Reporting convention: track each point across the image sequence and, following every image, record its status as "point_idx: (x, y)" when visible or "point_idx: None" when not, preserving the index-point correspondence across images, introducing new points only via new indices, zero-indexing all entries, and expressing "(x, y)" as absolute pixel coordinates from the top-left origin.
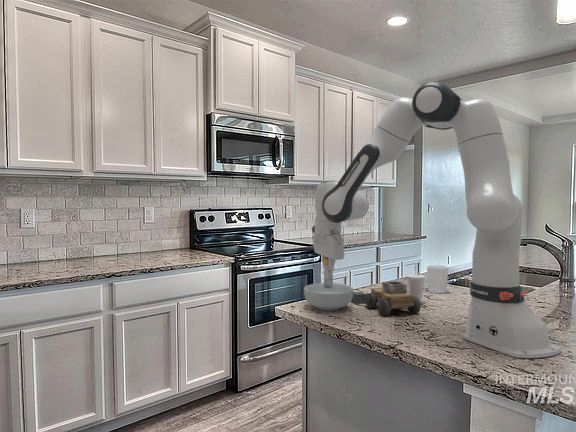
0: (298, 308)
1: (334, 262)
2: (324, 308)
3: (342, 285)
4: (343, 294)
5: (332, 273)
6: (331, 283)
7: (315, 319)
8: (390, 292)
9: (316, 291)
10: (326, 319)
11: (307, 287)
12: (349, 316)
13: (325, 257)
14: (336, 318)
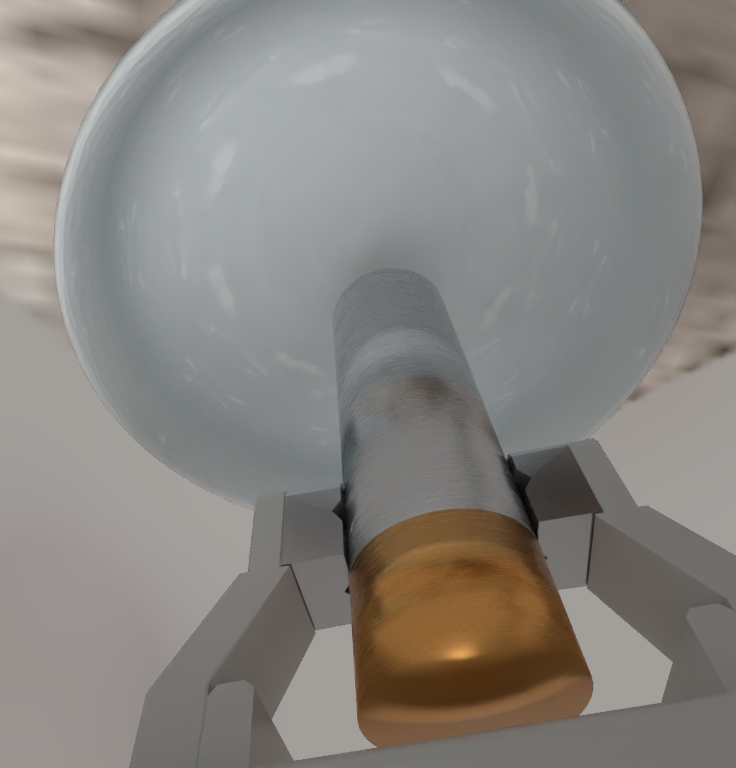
0: None
1: (734, 564)
2: (504, 295)
3: (160, 60)
4: (696, 178)
5: (468, 392)
6: (451, 323)
7: (656, 365)
8: None
9: (161, 364)
10: (690, 297)
11: (254, 487)
12: (703, 86)
13: (274, 740)
14: (702, 219)
